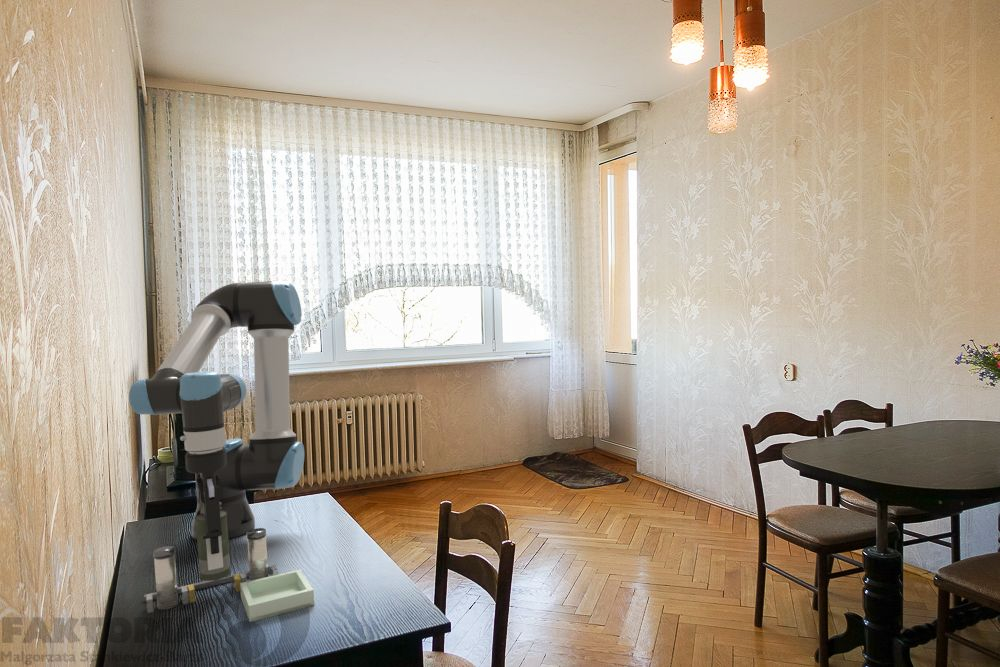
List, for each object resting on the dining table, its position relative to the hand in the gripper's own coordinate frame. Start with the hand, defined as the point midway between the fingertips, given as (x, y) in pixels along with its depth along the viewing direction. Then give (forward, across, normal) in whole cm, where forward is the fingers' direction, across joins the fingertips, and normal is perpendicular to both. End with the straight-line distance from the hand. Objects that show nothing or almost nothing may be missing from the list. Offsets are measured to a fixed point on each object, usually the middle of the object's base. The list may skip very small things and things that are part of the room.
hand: (214, 562), depth 131 cm
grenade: (+3, 0, 0) cm, 3 cm away
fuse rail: (+6, -1, 0) cm, 7 cm away
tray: (+6, +12, +10) cm, 16 cm away
